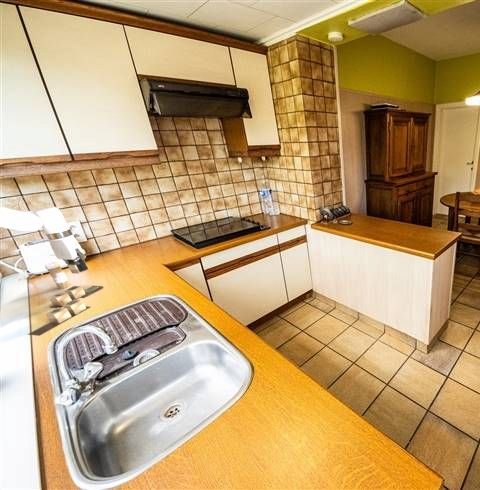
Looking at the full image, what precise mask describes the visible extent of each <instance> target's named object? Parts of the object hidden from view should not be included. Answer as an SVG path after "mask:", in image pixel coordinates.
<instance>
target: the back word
mask: <svg viewBox="0 0 480 490" xmlns="http://www.w3.org/2000/svg"><path fill="white" fill-rule="evenodd" d="M103 289H104V286H103V285H92V286H89V287H87V288H86V289H84V288H83V286H81V285H73V286H71V287H68V288H67V289H64V290H63V292H58V293H56V294H53V295H52V296H50V297H48V299H49V300H50V302H51V303H52V305H51V306H49V307H48V308H49V309H56V308H64V307H63V305H64V304H66V303H68V302H70V301H72V300H80V299H85V298H88V297H89V296H91V295H93V294H95V293H97V292H98V291H101V290H103Z"/></svg>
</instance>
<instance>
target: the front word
mask: <svg viewBox="0 0 480 490" xmlns="http://www.w3.org/2000/svg"><path fill="white" fill-rule="evenodd" d="M90 308H91V306H89V305H88V306H87V305H85V303H84V301H83V300H82V299H77V300H72V301H70V302H68V303H66V304H64V305H63V307H61V308H53V310H50V311H49V312H47V313H45V316H46V317H47V318H48V320H49V321H50V322H48V323H46V324H44V325H43V326H40V327H39V328H36V329H35V330H33V331H32V332H29V333H28V334H27V335H28V336H38V337H40V336H42V335H43V334H45V333H47V332H49V331H51V330H53V329H54V328H56V327H58V326H60V325H61V324H64V323H66V322H67V321H69V320H70V319H72V318H75V317H76V316H78V315H80V314H81V313H83V312H85V311H86V310H89V309H90Z"/></svg>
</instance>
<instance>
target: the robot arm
mask: <svg viewBox="0 0 480 490" xmlns="http://www.w3.org/2000/svg"><path fill="white" fill-rule="evenodd" d="M0 228H1V229H6V230H12V231H17V232H22V233H35V232H37V231H39V230H40V229H42V231H43V232H44V234H45V235H46V237H47V239H48V242H49V244H50V247H51V249H52V251H53V253H54V255H55V257H56V259H59V260H62V261H64V262H65V264H66V265H67V266H68V265H69V264H72V263H74V262H76V264H77V265H76V266H77V268H78V269H79V271H80V272H82V273H84V272H86V271H88V270H87V269H88V268H89V266H88V264H87V263H86V258H87V256H86V255H85V252H84V250H83V248H82V247H81V245H80V243H79V242H78V240H77V239H76V238H75V236H74V233H73V232H72V229H71V228H70V226H69V224H68V223H67V221H66V218H65V217H64V214H63V213H62V212H61V209H59V207H57V206H48V207H47V206H46V207H41V208H37V209H35V210H26V211H25V210H24V211H20V210H16V209H15V210H14V209H11V208H7V207H2V206H0ZM87 266H88V267H87ZM85 270H86V271H85ZM83 271H84V272H83Z"/></svg>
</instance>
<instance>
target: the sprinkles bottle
mask: <svg viewBox="0 0 480 490" xmlns="http://www.w3.org/2000/svg"><path fill="white" fill-rule="evenodd" d="M44 267H45V269H46V270H47V271H48V273H49V275H50V277H51V278H52V280H53V281H54V283H55V285H56V286H57V289H59V290H63V289H66V288H70V286H71V283H70V281H69V279H68V277H67V276H66V274H65V271H63V269H62V268H61V264H60V263H59V262H58V261H53V262H50V263H46V264H44Z"/></svg>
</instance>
